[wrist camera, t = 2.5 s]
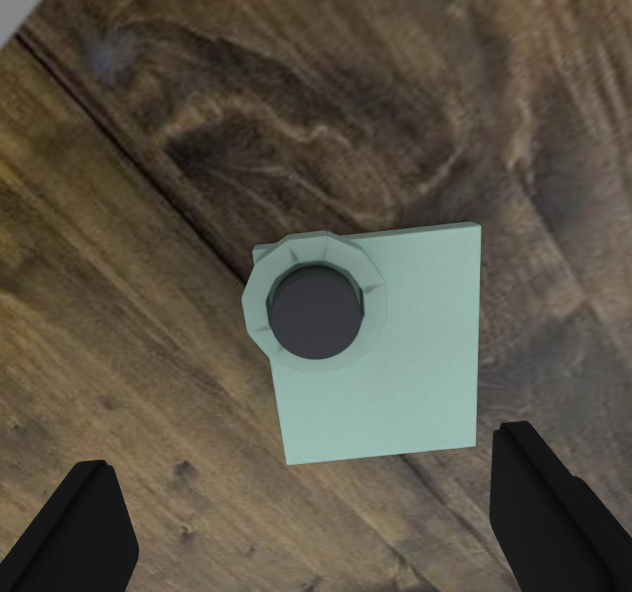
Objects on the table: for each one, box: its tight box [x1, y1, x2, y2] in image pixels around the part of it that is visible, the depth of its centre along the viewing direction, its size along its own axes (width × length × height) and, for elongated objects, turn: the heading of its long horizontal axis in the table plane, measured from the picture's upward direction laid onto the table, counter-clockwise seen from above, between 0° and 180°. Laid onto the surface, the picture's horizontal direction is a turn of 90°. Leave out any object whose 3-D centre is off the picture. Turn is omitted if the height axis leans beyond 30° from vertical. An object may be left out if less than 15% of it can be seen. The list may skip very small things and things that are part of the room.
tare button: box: [270, 265, 362, 360], centre depth 21 cm, size 4×4×2 cm
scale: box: [241, 221, 481, 465], centre depth 24 cm, size 15×13×3 cm
